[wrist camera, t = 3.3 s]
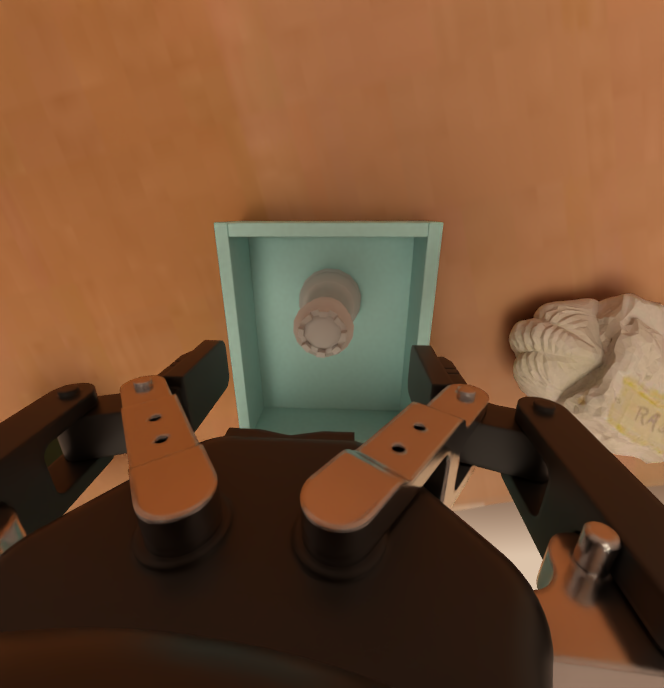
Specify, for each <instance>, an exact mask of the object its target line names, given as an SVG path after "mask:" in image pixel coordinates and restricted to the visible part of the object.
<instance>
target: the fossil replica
mask: <svg viewBox="0 0 664 688" xmlns="http://www.w3.org/2000/svg"><path fill="white" fill-rule="evenodd" d="M509 343H510V345H511V349H512V350H513V351H514V353H515V357H517V358H516V359H515V362H514V365H513V375H514V378H515V380H516V382H517V383H518V385H519V388H520V389H521V391H522V392H524V393H525V394H526V395H527V396H528V397H540V398H545V399H548V400H551V401H554V402H556V403H559V404H560V405H562V406H564V407H565V408H566V409H568V410H569V411H570V412H571V413H572V414H573V415H574V416H575V417H576V418H577V419H578V420H579V421H580V422H581V423H582V424H583V425H584V426H585V427H586V428H587V429H588V430H589V431H590V432H591V433H592V434H593V435H594V436H595V437H596V438H597V439H598V440H599V441H600V442H601V443H602V444H603V445H604V446H605V447H606V448H607V449H608V450H609V451H610V452H611V453H614V454H617V455H623V456H633V457H636V458H640V459H641V460H643V461H644V462H645V463H660V462H664V306H663V305H661V304H660V303H657V302H652V301H647V300H644V299H643V298H641V297H639V296H637V295H635V294H630V293H626V294H623V295H619V296H617V297H615V296H614V297H609V298H607V299H604V300H601V301H597V300H595V299H591V298H583V299H577V300H567V301H556V302H551V303H546V304H544V305H542V306H540V307H539V308H538V309H537V311H536V312H535V314H534V318H532V319H528V320H523V321H519V322H517V323H516V324H515V325H514V326H513V328H512V330H511V332H510V335H509Z"/></svg>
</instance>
